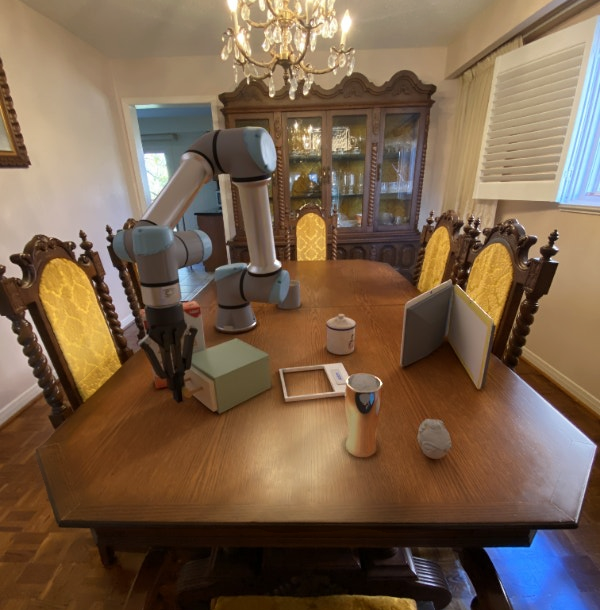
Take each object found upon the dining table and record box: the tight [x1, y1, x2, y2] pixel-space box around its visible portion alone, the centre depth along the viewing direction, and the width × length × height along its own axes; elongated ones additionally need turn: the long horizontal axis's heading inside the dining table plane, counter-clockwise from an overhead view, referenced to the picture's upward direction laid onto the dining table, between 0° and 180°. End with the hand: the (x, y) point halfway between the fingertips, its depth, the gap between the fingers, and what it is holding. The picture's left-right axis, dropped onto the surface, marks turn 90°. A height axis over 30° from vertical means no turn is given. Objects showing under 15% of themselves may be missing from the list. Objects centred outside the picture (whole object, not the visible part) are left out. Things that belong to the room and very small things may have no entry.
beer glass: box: [344, 372, 383, 458], centre depth 66 cm, size 7×7×15 cm
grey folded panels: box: [399, 279, 497, 390], centre depth 100 cm, size 35×22×20 cm, turn 174°
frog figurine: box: [416, 418, 452, 460], centre depth 66 cm, size 6×7×7 cm
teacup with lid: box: [325, 313, 357, 356], centre depth 109 cm, size 12×9×12 cm
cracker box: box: [140, 300, 207, 390], centre depth 92 cm, size 14×6×21 cm, turn 117°
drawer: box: [181, 365, 218, 413], centre depth 86 cm, size 19×13×8 cm
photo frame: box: [278, 362, 350, 403], centre depth 92 cm, size 15×1×18 cm
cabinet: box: [191, 337, 272, 414], centre depth 88 cm, size 16×15×10 cm
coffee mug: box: [277, 279, 301, 310], centre depth 149 cm, size 13×10×10 cm
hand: (178, 399), depth 80 cm, fingers closed
